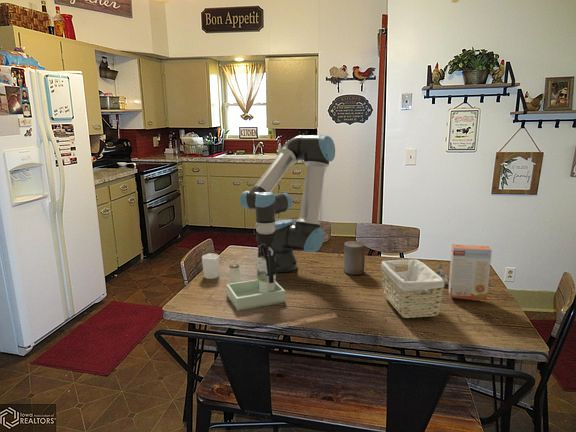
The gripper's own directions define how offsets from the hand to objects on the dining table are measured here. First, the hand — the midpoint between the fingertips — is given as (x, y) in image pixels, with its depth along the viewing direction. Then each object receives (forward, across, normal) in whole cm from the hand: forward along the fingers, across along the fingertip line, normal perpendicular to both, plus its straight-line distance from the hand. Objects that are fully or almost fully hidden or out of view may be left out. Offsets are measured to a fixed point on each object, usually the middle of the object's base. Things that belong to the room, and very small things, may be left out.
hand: (266, 286), depth 167 cm
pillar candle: (+5, -11, +48) cm, 49 cm away
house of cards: (+5, +15, +79) cm, 80 cm away
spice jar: (+5, -16, -9) cm, 19 cm away
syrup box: (+2, 0, 0) cm, 2 cm away
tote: (+5, 0, -5) cm, 7 cm away
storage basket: (+5, +29, +48) cm, 56 cm away
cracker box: (+5, +32, +75) cm, 81 cm away
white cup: (+5, -32, -16) cm, 36 cm away
